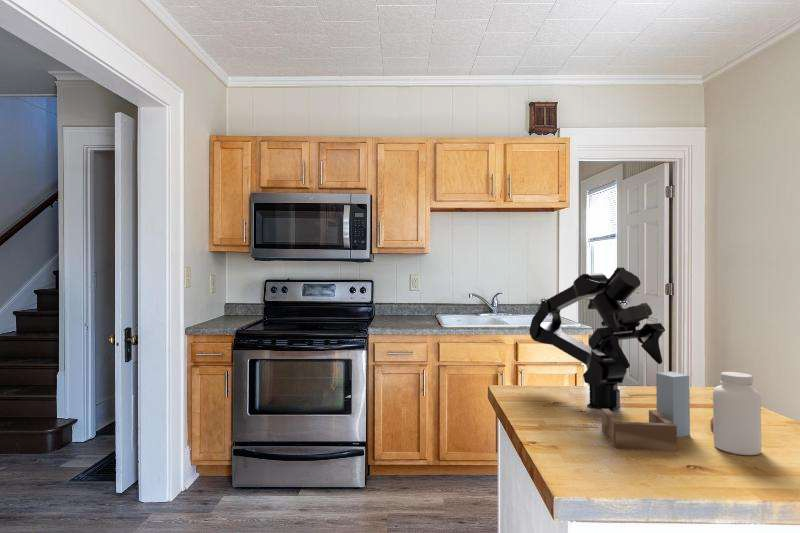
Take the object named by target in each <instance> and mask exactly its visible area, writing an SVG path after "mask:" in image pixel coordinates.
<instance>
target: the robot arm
mask: <svg viewBox="0 0 800 533" xmlns="http://www.w3.org/2000/svg"><path fill="white" fill-rule="evenodd" d="M640 286H641V281H640V278H639V277H638V276H637V275H635V274H634V273H632V272H631V271H629V270H627V269H626V268H625V267H624V266H623V267H620V266H619V267H616V268H615V270H614V272H613V273H612V274H611V276H610V277H609V278H608V277H607V276H606V275H605V274H603V273H602V272H601V273H583V274H580V275H579V276H577V278H576V279H574V281H573V283H572V285H570V286H569V287H567V288H566V289H564V290H562V291H561V292H559V293H557V294H555V295H553V296H551V297H549V298H547V299H544V300H542V301H541V303H540V305H539V309H538V310H537V311H536V313H535V314H534V315H533V316H532V318H531V319H532V320H531V322H530V326H529V330H528V331H529V336H530V338H531V339H532V341H534V342H536V343H540V344H543V345H551V346H553V347H555V348H557V349H559V350H560V351H561V352H564V353H565V354H567V355H568V356H570V357H572V358H574V359H575V360H578V361H579V362H581V363H582V364H584V365H585V366H586V368H587V369H586V371H585V372H584V373H583V375H582V377H583V380H584V383H585V384H589V388H588V389H589V402H588V403H587V404H586V406H587V407H588V408H589V407H590V408H595V409H598V410H599V409H600V410H602V409H609V410H610V411H611V412H612V411H614V410H616V409H618V408H619V407H620V406H621V390H620V389H619V387H618V386H619V384H623V382H624V379H625V376H626V373H627V369H629V368H630V367H631V364H630V362H629V360H628V358H627V357H626V355H625V353H624V351H623V349H622V348H621V345H620V342H619V341H620V340H621V341H623V340H632V339H636V340H637V341H638V343H640V344H641V345H640V347H642V349H643V350H644V351H646V353H647V354H648V355H649V356H650V357H651V358H652V359H653V360H654V361H655V362H656V364H658V365H661V364H663V357H662V353H661V348H660V341H659V340H660V338H661V336H662V335H663V334H664V332H666V329H665V327H664V326H663V324H662V323H661V322H658V321H657V322H648V323H646V322H645V324H644V325H643V326H642V327H641V328H640V329H637V327H640V325H641V321H644V320H648V319H650V316H652V314H653V311H652V307H651V306H650V305H649V304H648V303H647V302H643V303H640V304H637V305H633V306H632V305H631V306H628V307H626V308H623V306H622V304H621V303H620V302H625V301H627V300H628V299H629V297H630V296H631V295H632V294H633V293H634V292H635V291H636V290H637V289H638V288H639V287H640ZM586 298H587V299H588V298H590V299H589V301H588V302H589V303H588V305H587V309H588V310H596V312H597V313H598V315H599V316H600V318H601V319H602V321H601V322H600V324H601V326H602V327H598V328H596V329H595V330H594V331H593V333H592V334H591V336H590V337H589V338H588V344H585V343H583V342H582V341H579V340H577V339H576V338H573V337H572V336H570V335H568V334H566V333H564V332H563V330H562V327H561V326H562V318H561V314H560V313H561V310H562V309H565V308H567V307H570V306H571V305H573V304H575V303H577V302H579V301H581V300H583V299H586ZM549 314H552V320H551V321H544V320H545V319H546V318H547V316H548V315H549ZM588 345H589V346H588Z"/></svg>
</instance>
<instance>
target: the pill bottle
mask: <svg viewBox="0 0 800 533" xmlns="http://www.w3.org/2000/svg"><path fill="white" fill-rule="evenodd" d="M753 378H754V377H753V375H752V374H750V373H745V372H744V373H743V372H737V371H723V372H721V373H720V381H719V382H720V385H717V386H715V387H714V389H713V390H712V418H713V431H712V432H713V434H712V435H713V445H714V446H715V447H716V448H717V449H719V450H722V451H723V452H726V453H730V454H733V455H741V456H755V455H760V454H761V452H762V408H761V407H762V403H761V402H762V401H761V399H762V398H761V395H760V393H759V391H757V390H756V389H754V388H752V386H753V382H754V379H753Z"/></svg>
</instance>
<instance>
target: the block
mask: <svg viewBox="0 0 800 533" xmlns="http://www.w3.org/2000/svg"><path fill="white" fill-rule="evenodd" d="M655 374H656V375H655V377H656V378H655V379H656V381H655V382H656V383H655V385H656V386H655V388H656V390H655V392H656V410H657V411H658V412H659V413H661V414H662V415H663V416H665V417H666V418H667V419H669V420H670V421H671V422H672V423H674V424H675V425H676V426H677V438H681V437H682V438H683V437H690V436H691V420H690V419H691V411H690V410H691V406H690V400H691V398H690V393H691V392H690V375H688V374H685V373H681V372H676V371H662V372H656V373H655Z"/></svg>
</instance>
